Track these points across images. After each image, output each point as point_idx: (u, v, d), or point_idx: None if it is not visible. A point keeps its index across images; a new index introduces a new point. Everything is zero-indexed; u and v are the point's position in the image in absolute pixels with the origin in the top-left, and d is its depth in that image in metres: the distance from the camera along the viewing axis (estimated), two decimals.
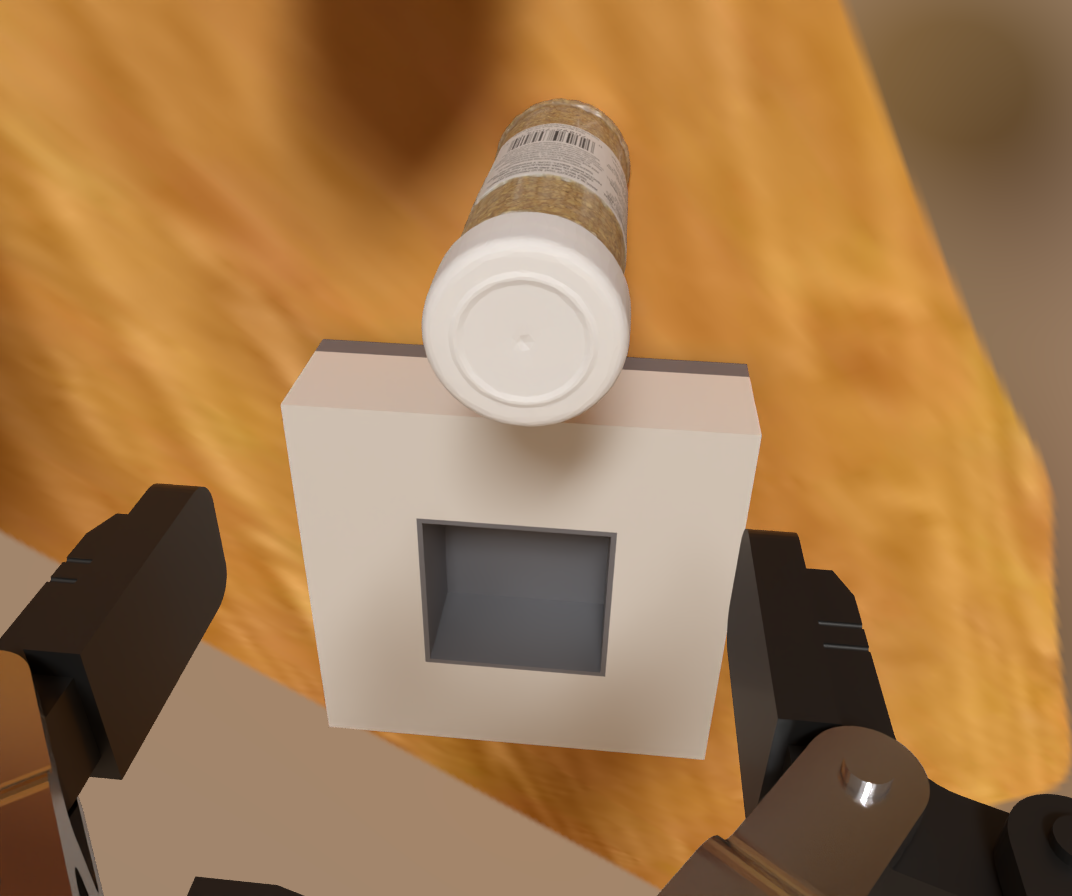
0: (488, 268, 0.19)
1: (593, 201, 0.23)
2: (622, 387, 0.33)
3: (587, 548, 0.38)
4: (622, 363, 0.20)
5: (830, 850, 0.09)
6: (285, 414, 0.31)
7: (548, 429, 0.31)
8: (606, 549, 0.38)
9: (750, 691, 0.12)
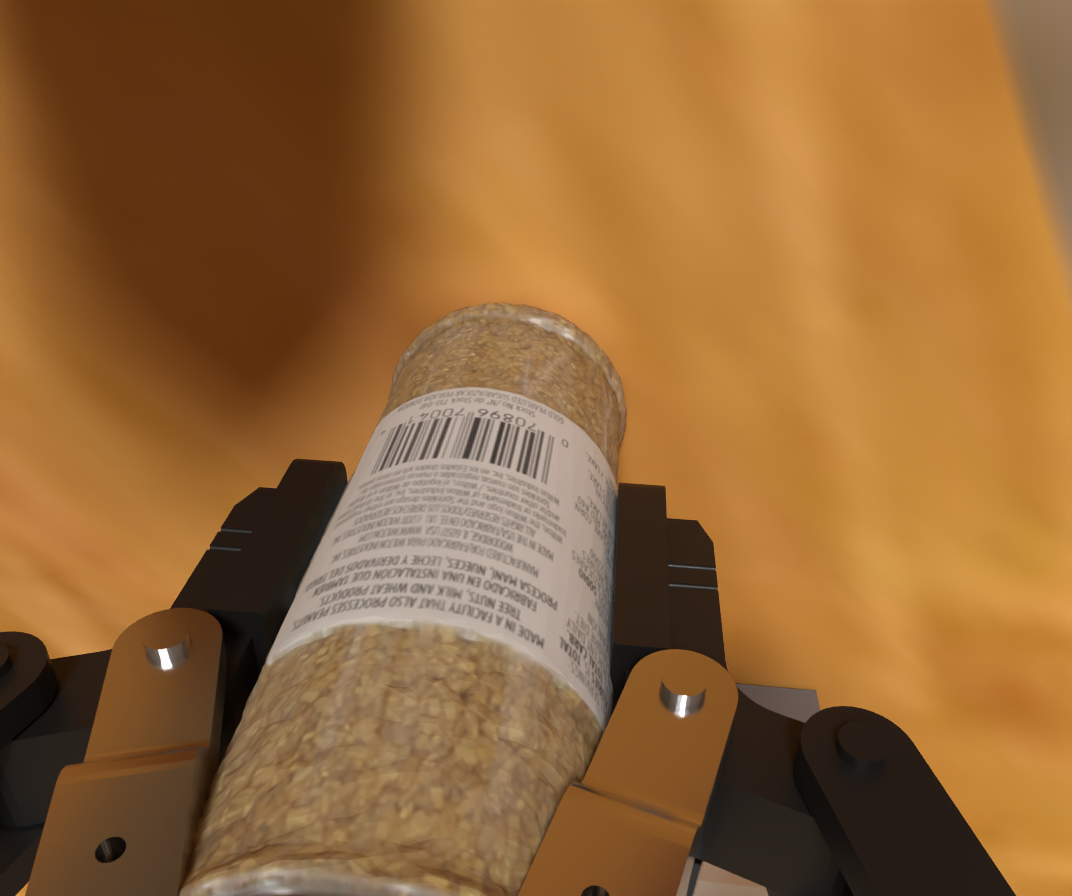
0: None
1: (530, 702, 0.09)
2: None
3: None
4: None
5: (672, 764, 0.09)
6: None
7: None
8: None
9: None
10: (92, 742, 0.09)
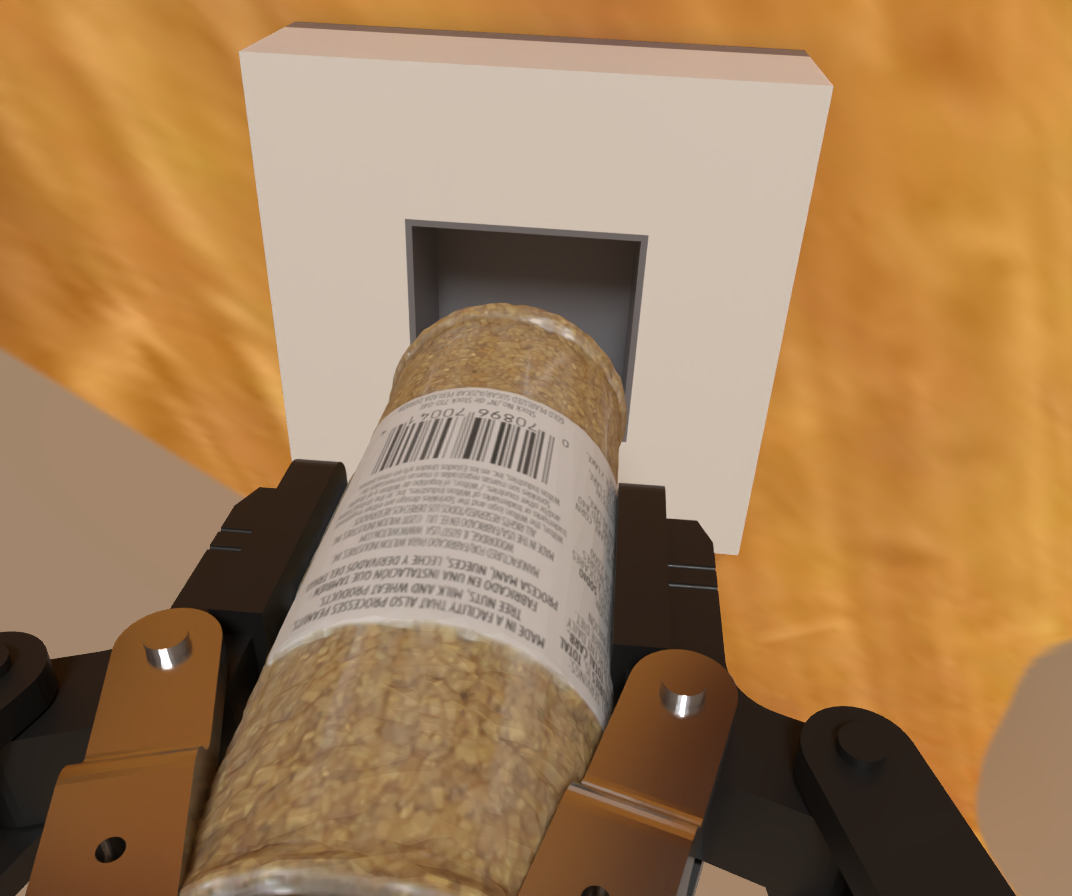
0: None
1: (530, 702, 0.09)
2: (657, 56, 0.27)
3: (605, 302, 0.33)
4: None
5: (671, 764, 0.09)
6: (244, 66, 0.26)
7: (570, 83, 0.25)
8: (628, 304, 0.33)
9: None
10: (93, 742, 0.09)
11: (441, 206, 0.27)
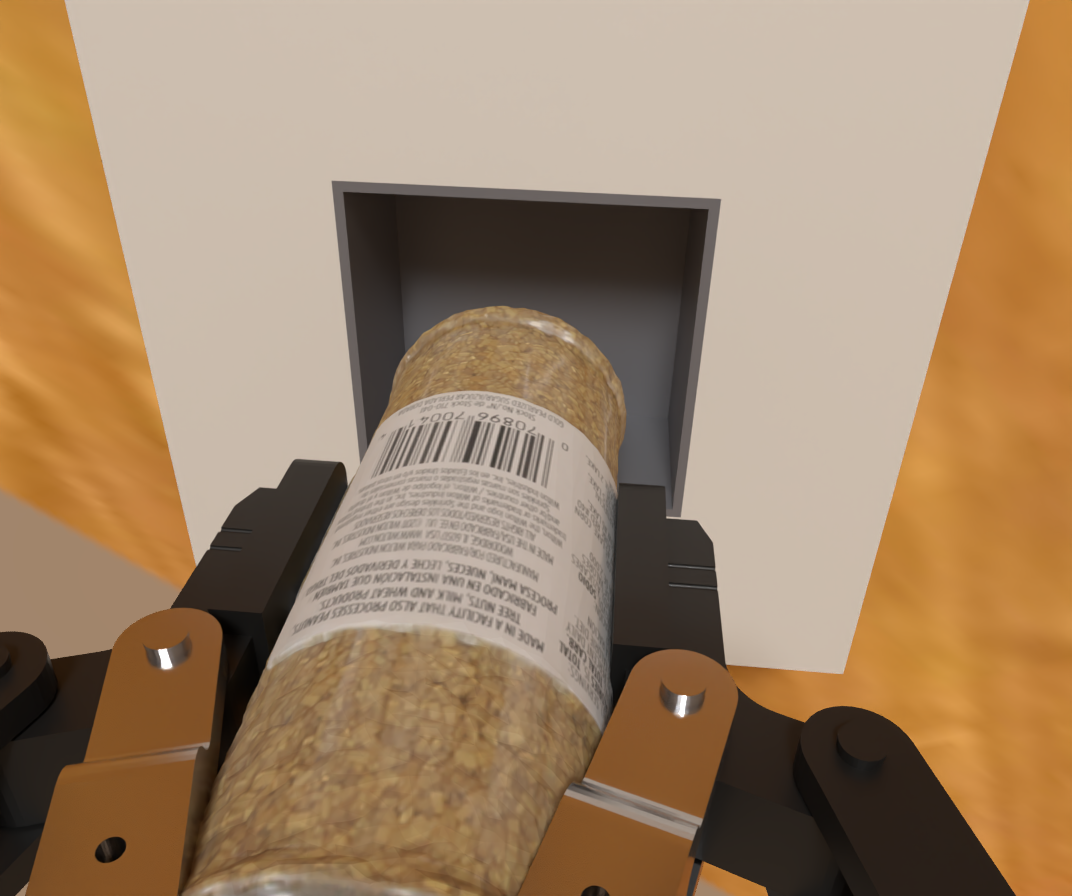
0: None
1: (530, 706, 0.09)
2: None
3: (644, 308, 0.22)
4: None
5: (671, 764, 0.09)
6: None
7: None
8: (677, 310, 0.22)
9: None
10: (93, 741, 0.09)
11: (388, 158, 0.17)
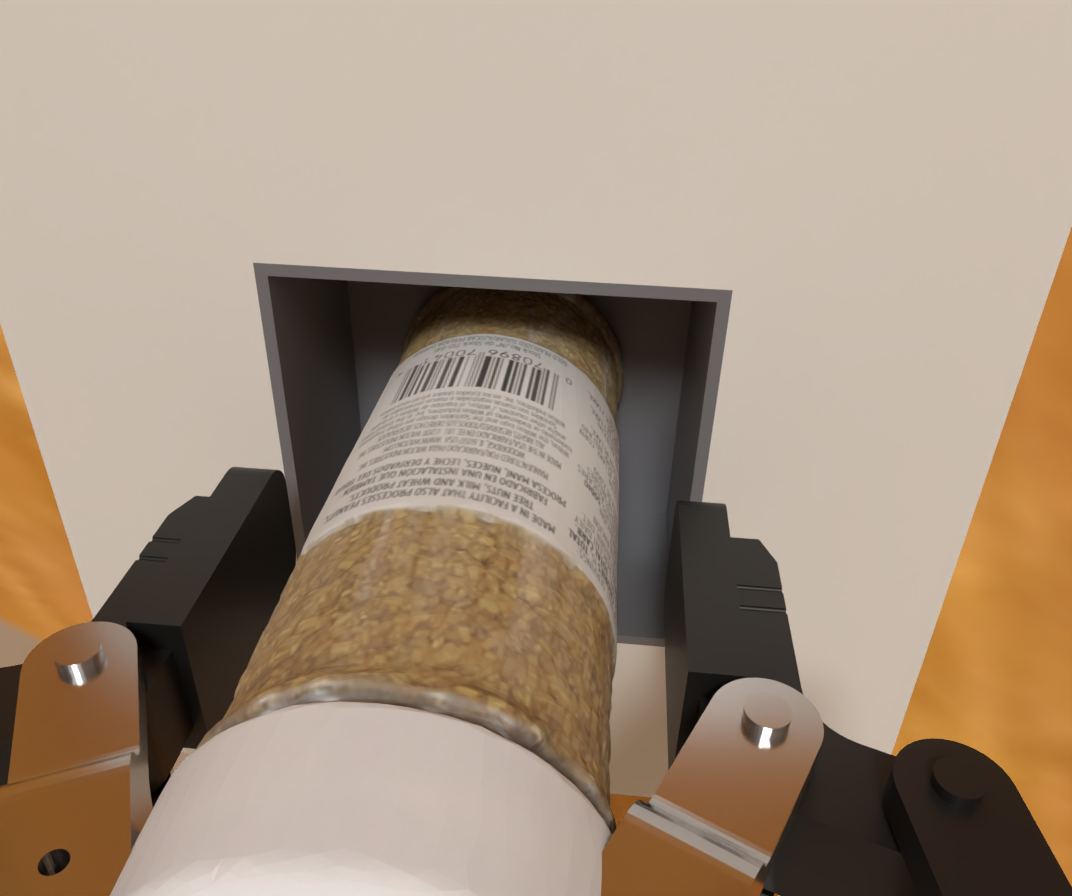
0: None
1: (544, 573, 0.10)
2: None
3: (639, 392, 0.19)
4: None
5: (744, 798, 0.09)
6: None
7: None
8: (677, 395, 0.19)
9: (675, 652, 0.12)
10: (14, 763, 0.09)
11: (321, 237, 0.14)
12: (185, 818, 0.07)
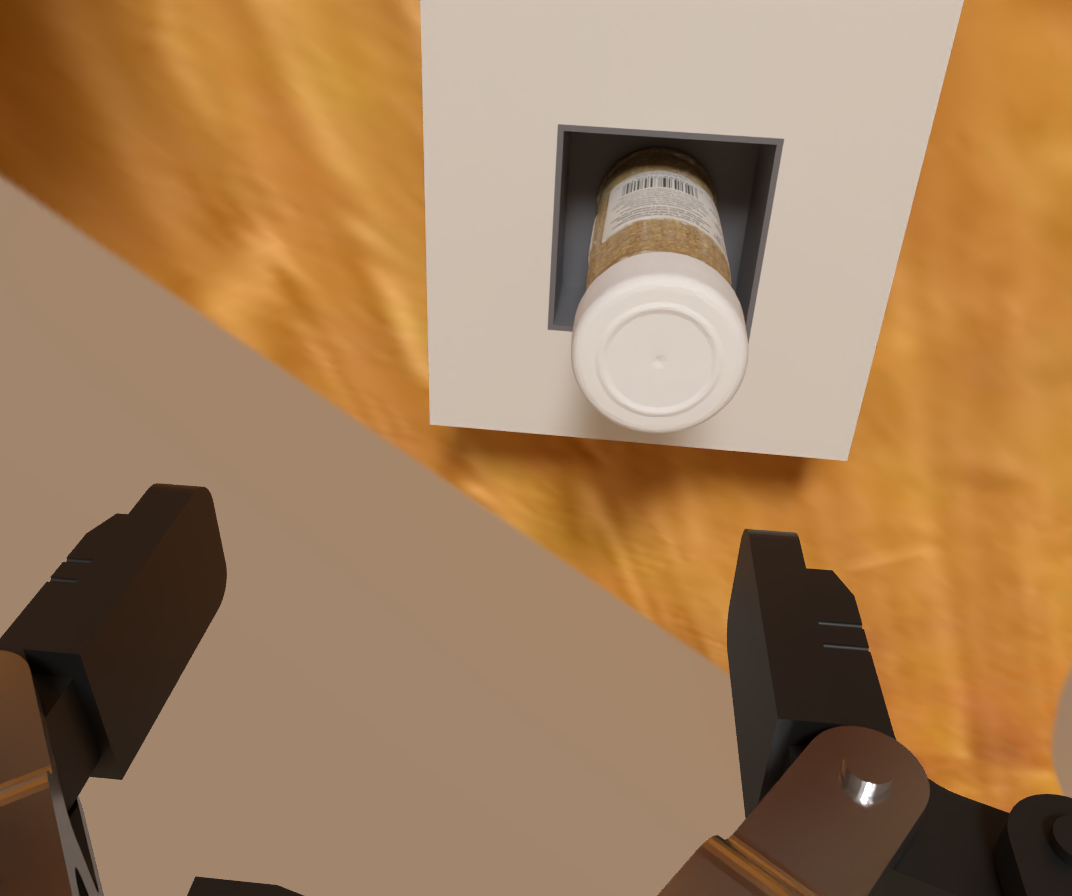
0: (636, 299, 0.23)
1: (707, 242, 0.26)
2: None
3: (723, 221, 0.35)
4: (741, 381, 0.24)
5: (831, 850, 0.09)
6: None
7: None
8: (745, 222, 0.35)
9: (750, 691, 0.12)
10: None
11: (593, 111, 0.30)
12: (613, 277, 0.23)
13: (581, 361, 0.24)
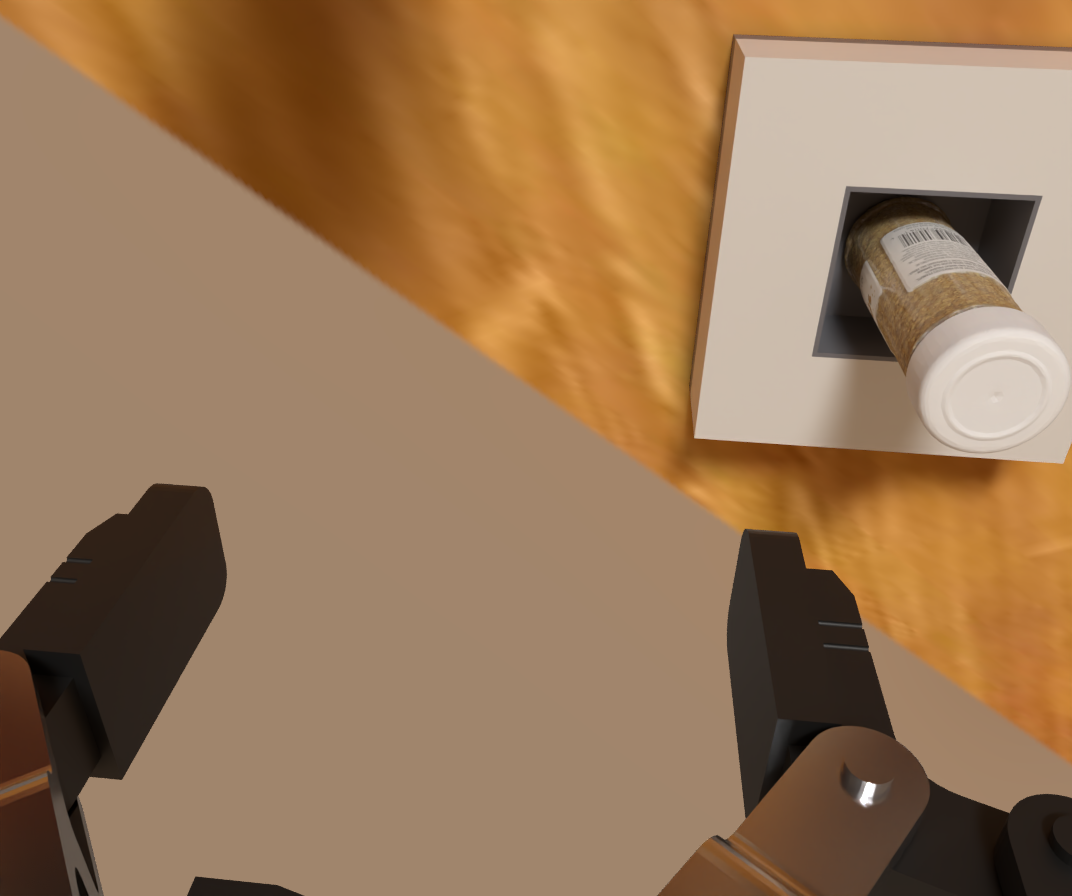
0: (986, 348, 0.28)
1: (1006, 291, 0.32)
2: (1049, 56, 0.34)
3: None
4: (1060, 410, 0.29)
5: (831, 850, 0.09)
6: (746, 68, 0.33)
7: (1005, 77, 0.33)
8: None
9: (750, 691, 0.12)
10: None
11: (878, 175, 0.35)
12: (960, 329, 0.29)
13: (929, 397, 0.29)
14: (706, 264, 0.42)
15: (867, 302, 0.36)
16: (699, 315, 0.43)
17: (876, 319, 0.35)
